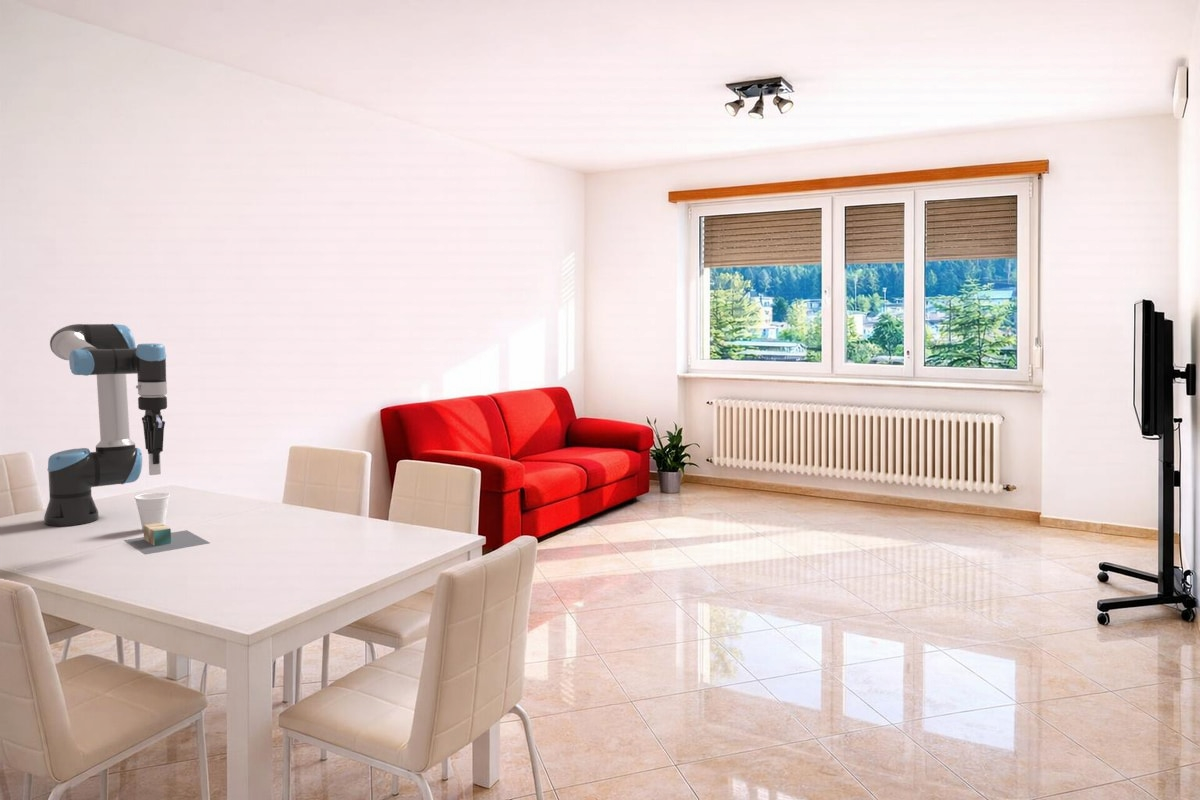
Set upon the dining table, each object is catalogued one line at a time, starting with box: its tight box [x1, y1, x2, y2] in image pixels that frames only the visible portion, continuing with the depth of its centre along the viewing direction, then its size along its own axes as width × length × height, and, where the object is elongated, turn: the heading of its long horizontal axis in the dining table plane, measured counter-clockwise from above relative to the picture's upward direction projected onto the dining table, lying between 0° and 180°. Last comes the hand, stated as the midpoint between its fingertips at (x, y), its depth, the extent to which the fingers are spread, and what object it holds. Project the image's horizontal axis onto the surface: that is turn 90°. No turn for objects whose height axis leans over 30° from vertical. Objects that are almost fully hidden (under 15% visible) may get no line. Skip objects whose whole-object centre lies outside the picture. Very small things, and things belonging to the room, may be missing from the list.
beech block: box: [143, 522, 172, 546], centre depth 250 cm, size 4×4×10 cm
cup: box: [134, 492, 171, 531], centre depth 265 cm, size 10×10×11 cm
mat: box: [123, 529, 211, 555], centre depth 250 cm, size 20×18×1 cm
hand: (154, 474), depth 249 cm, fingers closed
